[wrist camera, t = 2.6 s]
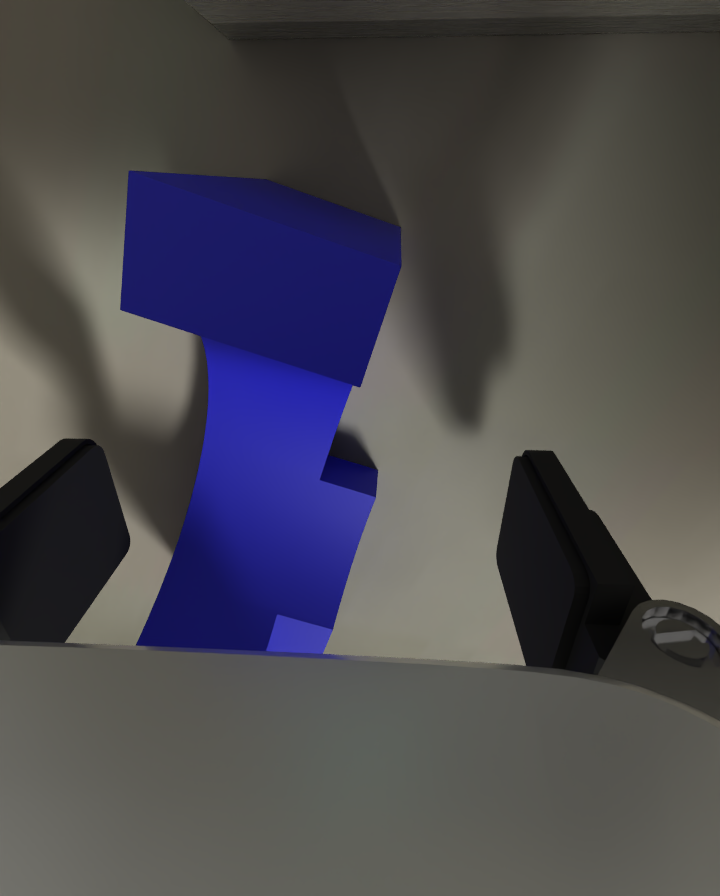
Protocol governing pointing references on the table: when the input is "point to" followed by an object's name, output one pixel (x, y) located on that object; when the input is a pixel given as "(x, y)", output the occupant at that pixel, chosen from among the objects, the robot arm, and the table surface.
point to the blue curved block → (262, 398)
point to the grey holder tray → (453, 17)
